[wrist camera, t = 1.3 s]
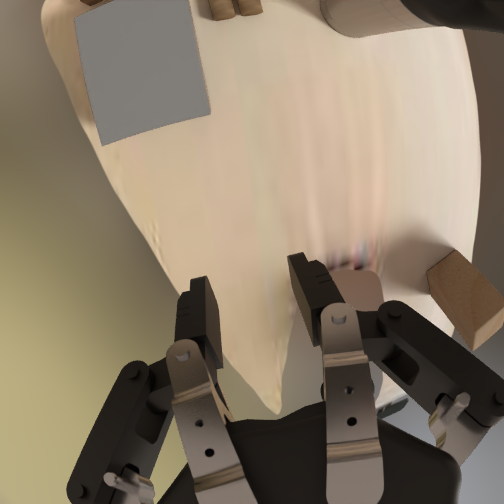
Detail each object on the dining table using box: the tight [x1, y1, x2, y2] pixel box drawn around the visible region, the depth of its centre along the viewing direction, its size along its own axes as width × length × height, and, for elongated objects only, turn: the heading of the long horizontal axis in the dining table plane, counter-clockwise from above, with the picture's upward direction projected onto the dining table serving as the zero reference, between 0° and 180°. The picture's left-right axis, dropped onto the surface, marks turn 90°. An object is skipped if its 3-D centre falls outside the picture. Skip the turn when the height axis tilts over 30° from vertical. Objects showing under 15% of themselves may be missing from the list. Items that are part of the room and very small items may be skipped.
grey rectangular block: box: [74, 0, 211, 146], centre depth 26 cm, size 12×16×10 cm
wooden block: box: [427, 250, 504, 351], centre depth 50 cm, size 10×10×20 cm
